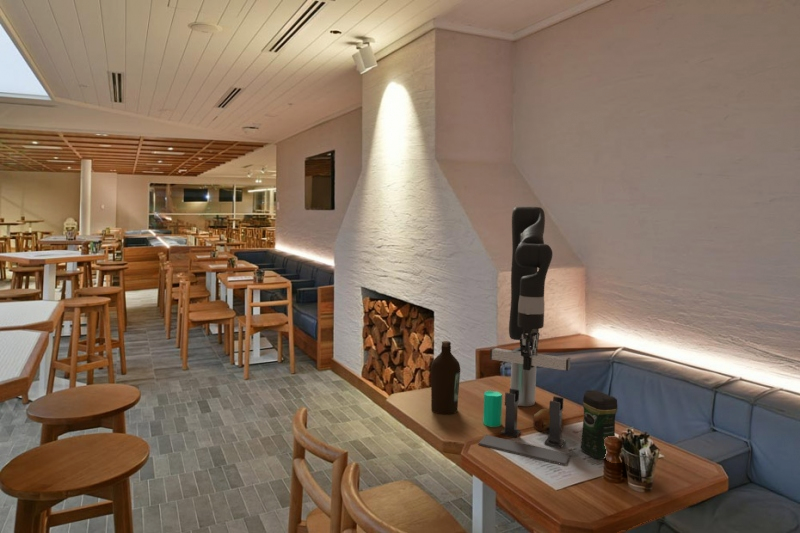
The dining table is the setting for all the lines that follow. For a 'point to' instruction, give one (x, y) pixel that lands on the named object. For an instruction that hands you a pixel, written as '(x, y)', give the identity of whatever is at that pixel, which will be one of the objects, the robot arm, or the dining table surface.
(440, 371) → the olive oil
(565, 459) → the mat
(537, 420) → the bread roll
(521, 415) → the dining table surface
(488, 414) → the candle
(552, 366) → the rail
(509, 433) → the post pair
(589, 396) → the coffee jar
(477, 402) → the dining table surface
